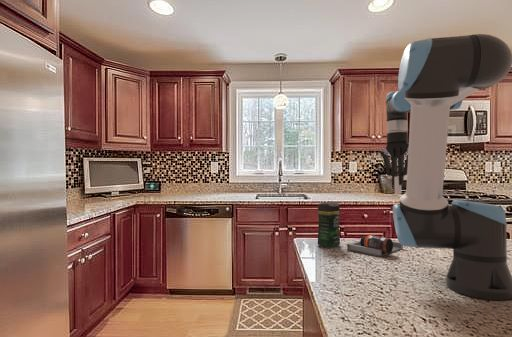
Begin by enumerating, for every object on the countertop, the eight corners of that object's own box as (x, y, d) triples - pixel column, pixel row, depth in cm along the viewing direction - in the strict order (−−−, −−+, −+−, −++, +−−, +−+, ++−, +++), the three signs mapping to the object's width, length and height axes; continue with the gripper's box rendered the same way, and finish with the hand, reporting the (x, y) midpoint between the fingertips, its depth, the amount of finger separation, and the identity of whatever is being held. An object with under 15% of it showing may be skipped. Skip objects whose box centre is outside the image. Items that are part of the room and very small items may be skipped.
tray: (380, 257, 117) (380, 250, 117) (347, 250, 128) (347, 244, 128) (402, 248, 129) (402, 242, 129) (370, 243, 140) (370, 237, 140)
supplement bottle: (388, 235, 118) (361, 230, 127) (384, 249, 116) (356, 244, 125) (395, 243, 121) (368, 238, 130) (390, 257, 119) (363, 251, 128)
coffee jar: (331, 249, 129) (330, 203, 130) (314, 246, 135) (314, 202, 135) (343, 245, 136) (342, 201, 136) (327, 242, 142) (326, 200, 142)
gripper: (418, 131, 121) (419, 193, 121) (385, 134, 131) (386, 192, 130) (410, 129, 116) (411, 194, 116) (376, 133, 126) (377, 193, 125)
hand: (398, 193), depth 123 cm, fingers closed
